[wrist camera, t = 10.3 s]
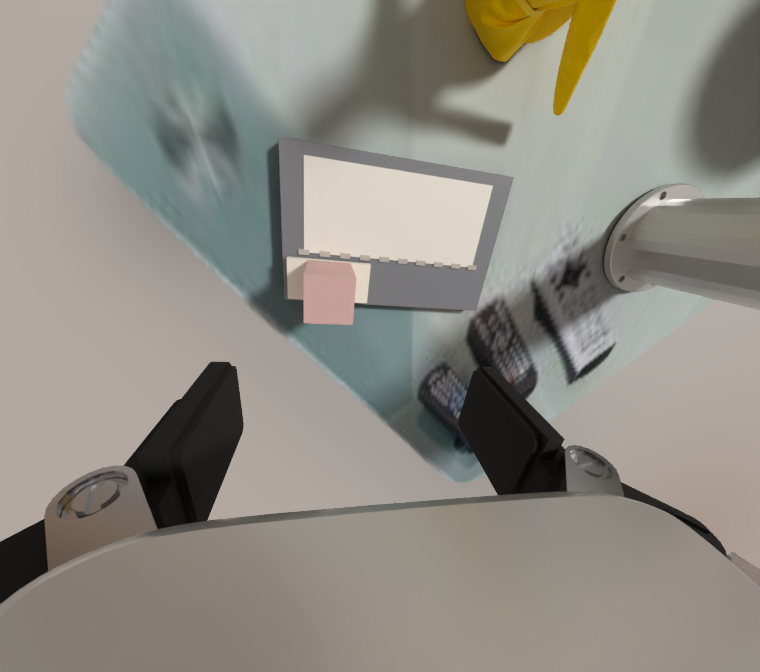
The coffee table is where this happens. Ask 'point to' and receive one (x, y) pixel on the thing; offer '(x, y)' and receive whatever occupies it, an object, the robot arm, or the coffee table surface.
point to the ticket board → (392, 221)
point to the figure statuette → (542, 32)
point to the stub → (327, 288)
